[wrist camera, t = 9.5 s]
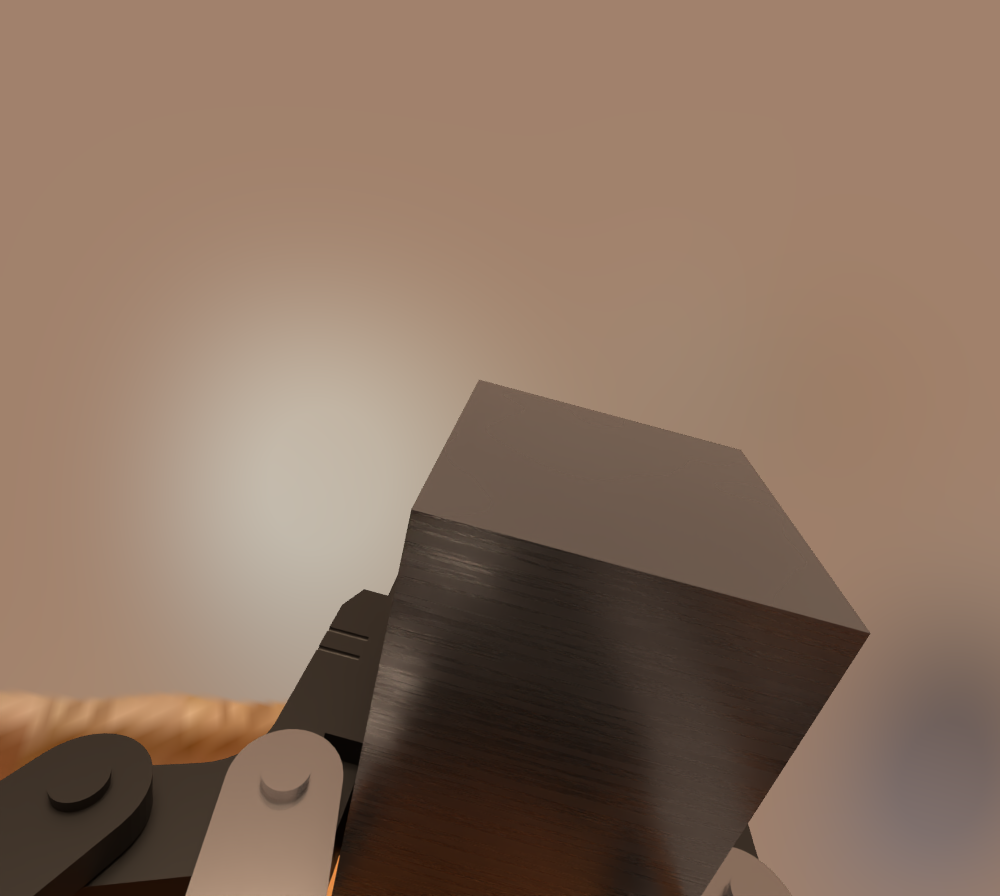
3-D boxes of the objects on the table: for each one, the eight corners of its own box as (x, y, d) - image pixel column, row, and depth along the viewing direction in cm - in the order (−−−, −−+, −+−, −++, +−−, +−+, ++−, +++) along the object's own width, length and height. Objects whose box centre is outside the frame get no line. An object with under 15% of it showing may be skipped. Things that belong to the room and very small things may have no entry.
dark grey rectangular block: (279, 1149, 9) (410, 509, 4) (355, 899, 12) (479, 379, 8) (498, 1209, 9) (870, 634, 4) (517, 944, 12) (740, 450, 8)
